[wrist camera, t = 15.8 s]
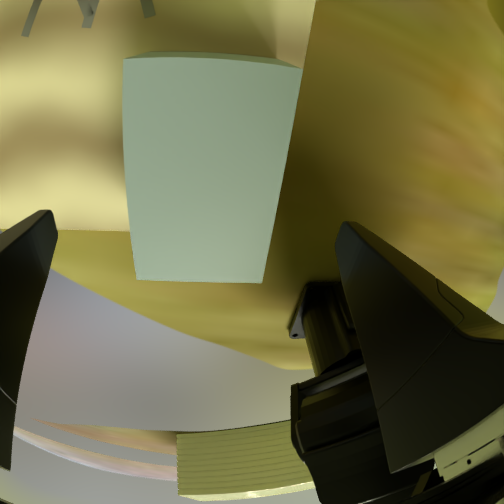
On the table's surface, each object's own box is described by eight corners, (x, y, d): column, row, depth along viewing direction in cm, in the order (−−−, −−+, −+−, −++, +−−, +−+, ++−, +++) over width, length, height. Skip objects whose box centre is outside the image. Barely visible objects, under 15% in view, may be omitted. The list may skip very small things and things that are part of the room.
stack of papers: (197, 448, 49) (200, 501, 41) (176, 432, 43) (178, 495, 34) (369, 417, 49) (384, 468, 40) (379, 396, 42) (399, 457, 34)
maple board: (266, 222, 19) (270, 237, 18) (-16, 215, 16) (-27, 228, 15) (327, -123, 6) (337, -133, 5) (-19, -83, 2) (-32, -85, 1)
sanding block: (251, 225, 17) (261, 283, 14) (150, 221, 17) (136, 279, 13) (276, 58, 12) (303, 69, 8) (150, 51, 11) (123, 58, 8)
